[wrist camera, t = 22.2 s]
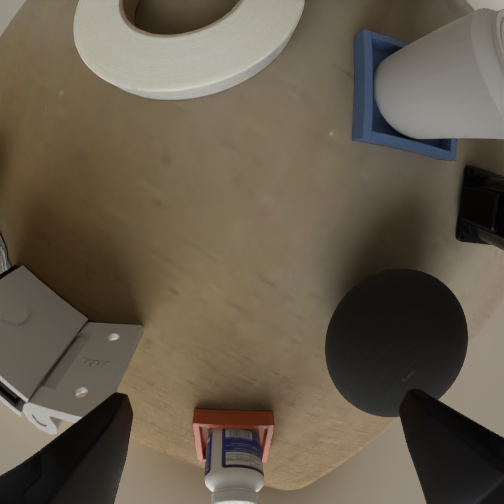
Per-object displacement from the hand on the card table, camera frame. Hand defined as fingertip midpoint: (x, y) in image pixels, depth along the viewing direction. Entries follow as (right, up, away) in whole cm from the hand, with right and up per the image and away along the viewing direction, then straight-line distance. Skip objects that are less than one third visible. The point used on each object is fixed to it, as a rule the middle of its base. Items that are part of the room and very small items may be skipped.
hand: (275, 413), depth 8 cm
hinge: (-16, 0, +13) cm, 20 cm away
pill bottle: (-3, -14, +18) cm, 22 cm away
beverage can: (+10, +16, +9) cm, 21 cm away
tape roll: (-5, +21, +4) cm, 22 cm away
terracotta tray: (-3, -14, +18) cm, 23 cm away
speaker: (+9, 0, +14) cm, 17 cm away
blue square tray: (+10, +16, +9) cm, 21 cm away
